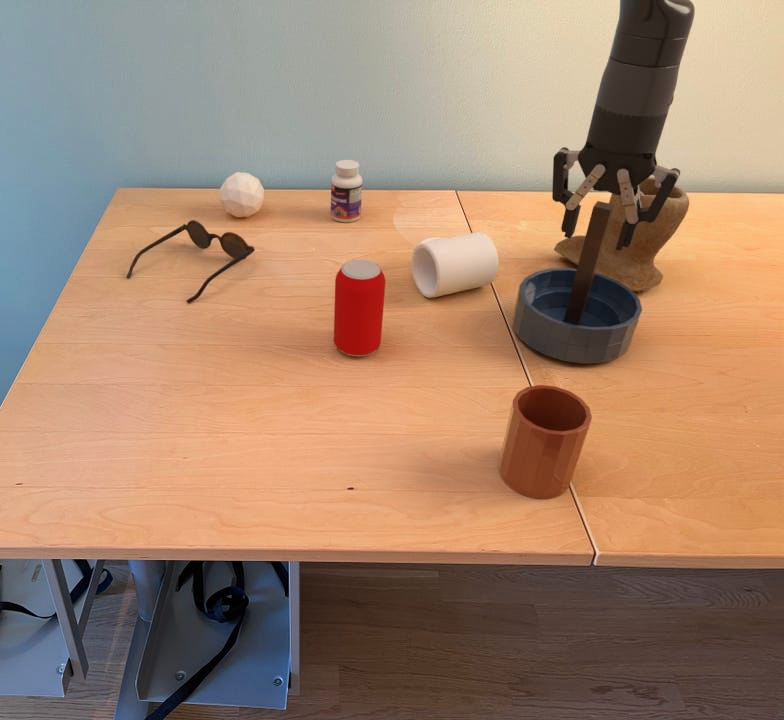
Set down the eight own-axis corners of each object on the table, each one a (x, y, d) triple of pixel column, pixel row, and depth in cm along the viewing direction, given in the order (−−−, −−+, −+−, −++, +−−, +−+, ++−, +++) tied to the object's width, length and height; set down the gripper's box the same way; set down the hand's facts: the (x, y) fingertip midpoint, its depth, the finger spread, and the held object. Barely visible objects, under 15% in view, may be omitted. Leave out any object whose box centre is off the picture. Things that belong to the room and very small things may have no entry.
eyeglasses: (255, 264, 111) (254, 236, 108) (193, 306, 101) (189, 276, 98) (186, 240, 117) (183, 213, 114) (121, 277, 107) (116, 248, 104)
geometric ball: (244, 223, 129) (254, 181, 128) (265, 223, 122) (277, 179, 122) (207, 210, 124) (218, 166, 124) (228, 210, 118) (239, 164, 117)
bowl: (639, 324, 97) (652, 287, 93) (613, 382, 86) (627, 343, 83) (531, 294, 103) (539, 258, 100) (495, 344, 93) (503, 306, 89)
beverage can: (385, 358, 91) (392, 277, 83) (339, 363, 90) (342, 283, 82) (372, 331, 95) (378, 253, 88) (328, 337, 94) (330, 258, 87)
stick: (579, 328, 95) (614, 204, 84) (575, 335, 93) (610, 210, 82) (564, 323, 95) (597, 200, 85) (560, 330, 94) (593, 206, 83)
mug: (494, 294, 103) (503, 246, 98) (435, 308, 100) (442, 258, 95) (451, 258, 112) (457, 212, 107) (396, 270, 109) (400, 223, 104)
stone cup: (680, 284, 105) (715, 190, 96) (624, 303, 101) (655, 207, 92) (602, 243, 116) (627, 155, 107) (549, 259, 112) (570, 169, 103)
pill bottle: (324, 215, 125) (325, 163, 119) (346, 207, 128) (348, 155, 122) (344, 226, 121) (346, 172, 116) (366, 217, 124) (369, 164, 118)
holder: (578, 464, 75) (599, 400, 70) (558, 509, 70) (579, 444, 65) (511, 439, 78) (526, 376, 73) (488, 480, 73) (502, 416, 68)
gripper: (557, 100, 77) (527, 239, 87) (698, 123, 71) (649, 269, 81) (575, 84, 82) (545, 217, 92) (709, 104, 76) (661, 244, 86)
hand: (594, 241), depth 86 cm, fingers open, 5 cm apart
